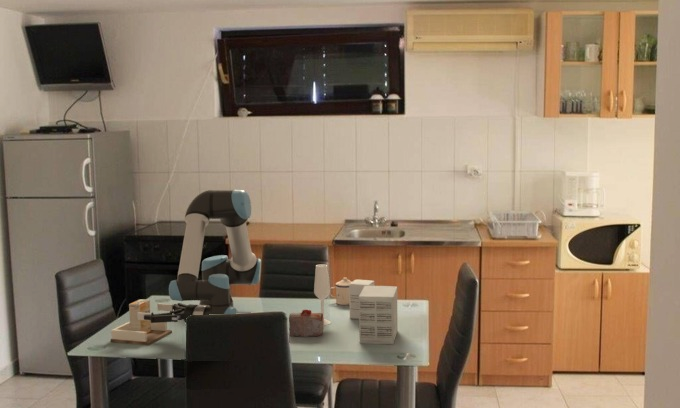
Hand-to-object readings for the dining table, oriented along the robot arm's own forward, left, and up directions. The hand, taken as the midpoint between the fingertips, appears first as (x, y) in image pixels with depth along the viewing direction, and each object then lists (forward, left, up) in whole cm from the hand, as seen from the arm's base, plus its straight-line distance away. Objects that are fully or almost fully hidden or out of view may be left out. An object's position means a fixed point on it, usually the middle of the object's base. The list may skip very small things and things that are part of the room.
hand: (148, 311), depth 266 cm
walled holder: (-4, -2, -11) cm, 11 cm away
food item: (+41, +45, -11) cm, 62 cm away
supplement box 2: (+38, +78, -11) cm, 88 cm away
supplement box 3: (+63, +62, -11) cm, 89 cm away
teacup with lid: (+15, +88, -11) cm, 90 cm away
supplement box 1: (-4, -1, -10) cm, 11 cm away
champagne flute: (+33, +60, -11) cm, 70 cm away
